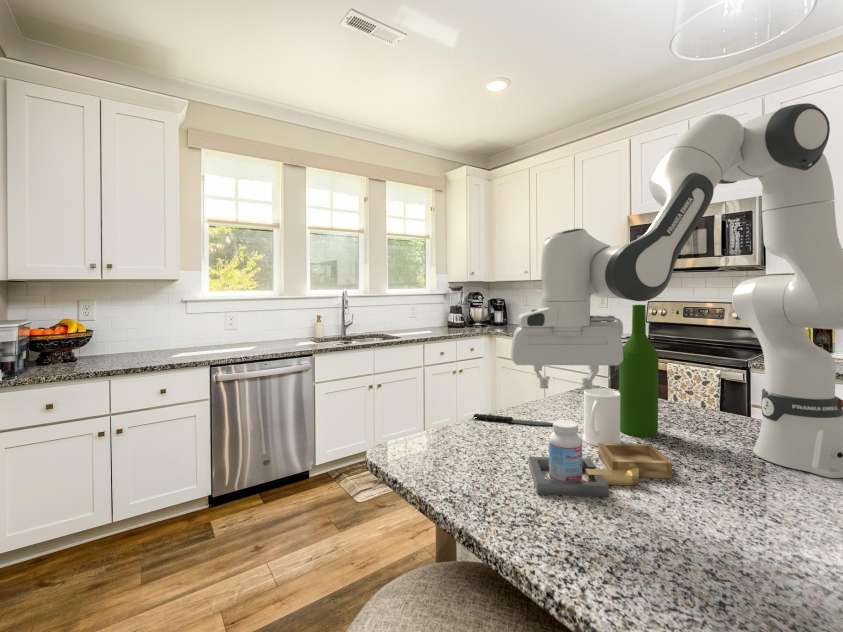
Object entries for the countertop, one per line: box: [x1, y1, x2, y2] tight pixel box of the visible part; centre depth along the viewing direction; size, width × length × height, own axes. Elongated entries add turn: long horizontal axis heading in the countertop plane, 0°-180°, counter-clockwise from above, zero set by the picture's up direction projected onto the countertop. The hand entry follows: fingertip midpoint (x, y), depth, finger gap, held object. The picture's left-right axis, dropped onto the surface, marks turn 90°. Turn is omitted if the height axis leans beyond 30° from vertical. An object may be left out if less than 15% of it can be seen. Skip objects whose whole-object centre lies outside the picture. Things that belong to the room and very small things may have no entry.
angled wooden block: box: [584, 463, 640, 487], centre depth 81 cm, size 9×3×3 cm, turn 83°
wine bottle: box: [618, 304, 660, 438], centre depth 108 cm, size 9×9×32 cm
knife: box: [472, 413, 553, 427], centre depth 118 cm, size 25×2×5 cm
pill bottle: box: [548, 419, 583, 481], centre depth 82 cm, size 6×6×11 cm
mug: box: [582, 388, 622, 447], centre depth 101 cm, size 12×8×12 cm
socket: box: [528, 456, 610, 498], centre depth 82 cm, size 12×12×2 cm
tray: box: [597, 443, 673, 479], centre depth 88 cm, size 11×10×3 cm
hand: (565, 388), depth 81 cm, fingers open, 7 cm apart
